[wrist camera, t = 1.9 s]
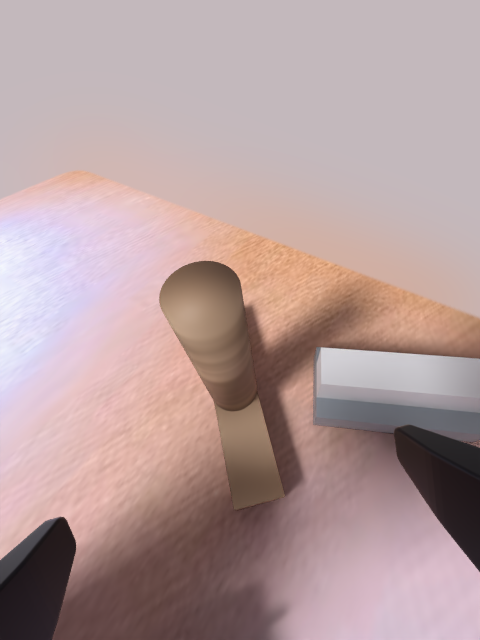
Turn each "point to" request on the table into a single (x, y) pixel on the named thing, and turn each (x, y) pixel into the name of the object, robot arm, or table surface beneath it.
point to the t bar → (225, 372)
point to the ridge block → (397, 392)
